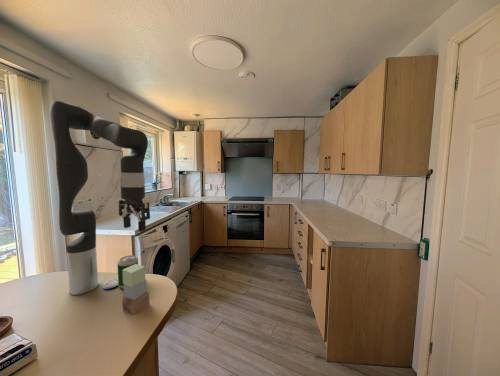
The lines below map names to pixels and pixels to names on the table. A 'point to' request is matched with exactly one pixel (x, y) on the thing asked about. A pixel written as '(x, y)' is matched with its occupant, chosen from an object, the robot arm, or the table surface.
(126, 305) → the walnut block
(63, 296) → the table surface
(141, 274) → the sage cube
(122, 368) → the table surface
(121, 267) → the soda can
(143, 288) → the slate cube
